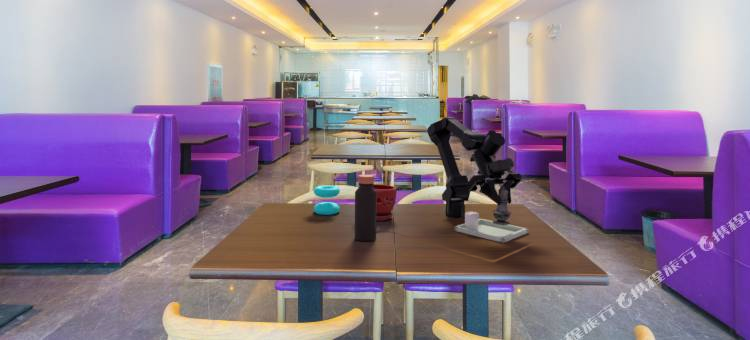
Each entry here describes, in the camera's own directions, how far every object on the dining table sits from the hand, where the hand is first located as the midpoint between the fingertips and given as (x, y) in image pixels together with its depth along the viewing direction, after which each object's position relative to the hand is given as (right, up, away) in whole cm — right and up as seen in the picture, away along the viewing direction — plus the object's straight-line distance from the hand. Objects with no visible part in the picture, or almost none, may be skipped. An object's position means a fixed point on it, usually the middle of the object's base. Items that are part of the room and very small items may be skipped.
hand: (505, 203), depth 145 cm
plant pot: (-40, -7, +24) cm, 48 cm away
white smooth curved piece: (-9, -9, +6) cm, 15 cm away
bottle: (-44, -11, -2) cm, 46 cm away
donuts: (-60, -6, +31) cm, 68 cm away
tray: (-3, -10, +6) cm, 12 cm away
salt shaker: (-1, -7, +2) cm, 7 cm away
